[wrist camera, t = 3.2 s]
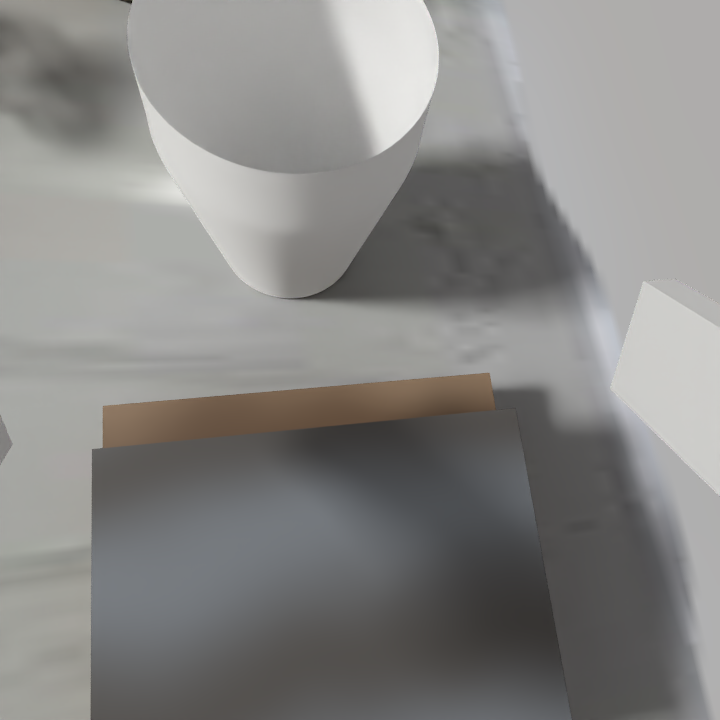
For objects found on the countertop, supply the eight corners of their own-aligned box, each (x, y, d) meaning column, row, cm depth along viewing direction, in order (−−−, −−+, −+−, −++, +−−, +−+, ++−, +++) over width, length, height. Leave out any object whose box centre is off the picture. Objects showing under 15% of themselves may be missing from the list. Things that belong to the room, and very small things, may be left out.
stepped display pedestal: (133, 420, 23) (56, 384, 16) (459, 390, 25) (532, 346, 18) (139, 880, 19) (40, 1137, 12) (523, 797, 22) (652, 966, 14)
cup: (191, 160, 27) (116, -94, 15) (366, 155, 28) (420, -81, 16) (201, 330, 25) (122, 186, 13) (389, 316, 26) (469, 174, 14)
